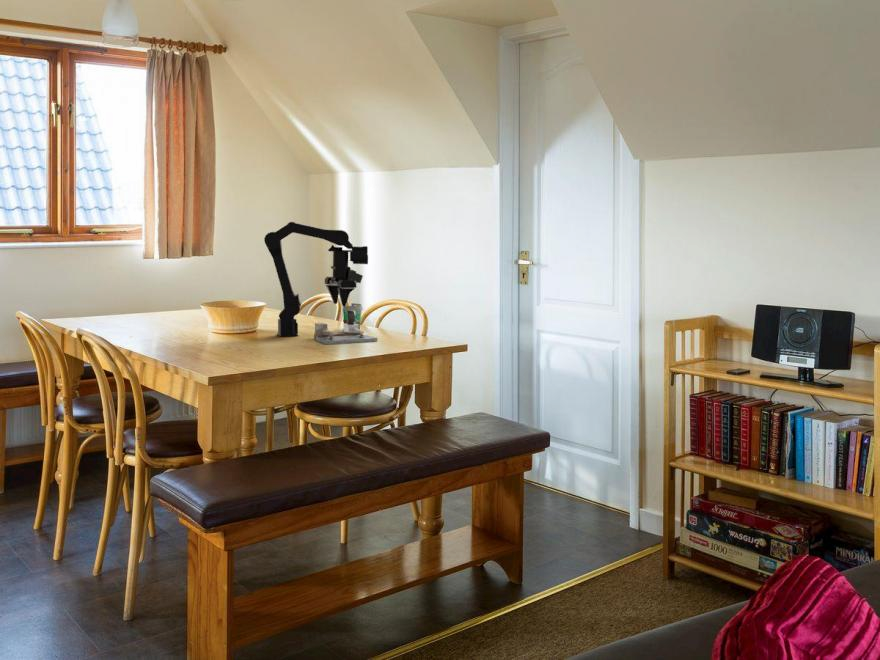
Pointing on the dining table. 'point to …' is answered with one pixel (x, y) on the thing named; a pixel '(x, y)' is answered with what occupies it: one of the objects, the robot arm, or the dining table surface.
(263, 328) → the dining table surface
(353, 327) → the divider leg
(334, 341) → the hole plate
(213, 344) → the dining table surface
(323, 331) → the divider rail
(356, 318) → the food container
